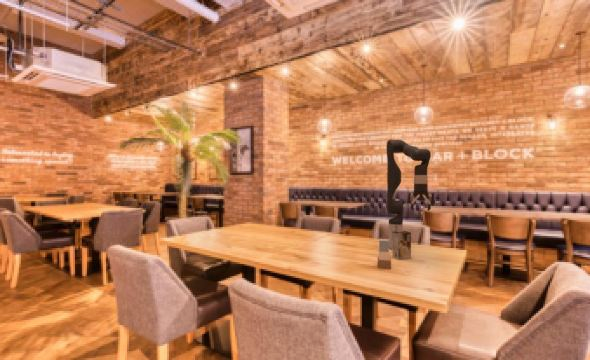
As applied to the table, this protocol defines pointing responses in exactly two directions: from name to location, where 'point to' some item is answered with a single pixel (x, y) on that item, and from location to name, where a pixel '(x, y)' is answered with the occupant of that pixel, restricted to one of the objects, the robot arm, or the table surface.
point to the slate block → (383, 245)
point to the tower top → (384, 255)
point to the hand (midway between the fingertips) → (420, 210)
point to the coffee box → (401, 245)
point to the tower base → (384, 264)
